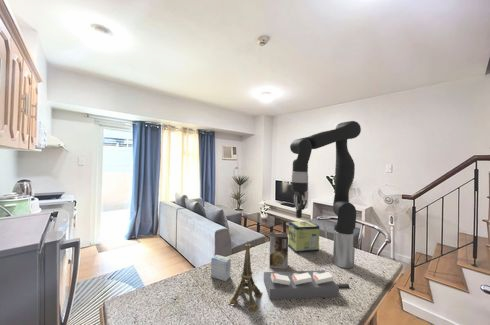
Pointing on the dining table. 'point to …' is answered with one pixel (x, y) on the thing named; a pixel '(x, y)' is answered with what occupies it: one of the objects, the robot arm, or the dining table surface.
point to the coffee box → (278, 250)
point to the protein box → (303, 237)
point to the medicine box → (220, 267)
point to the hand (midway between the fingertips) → (298, 217)
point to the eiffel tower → (247, 283)
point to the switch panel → (300, 287)
